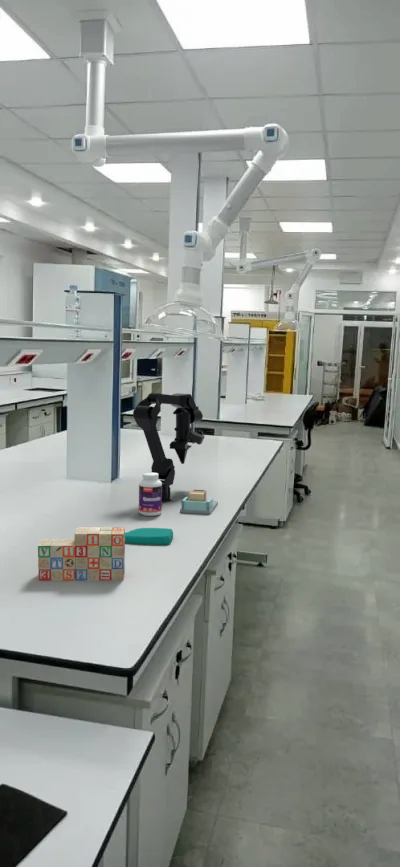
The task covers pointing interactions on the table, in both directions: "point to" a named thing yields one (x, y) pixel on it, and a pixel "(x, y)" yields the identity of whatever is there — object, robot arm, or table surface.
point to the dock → (198, 506)
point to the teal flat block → (149, 536)
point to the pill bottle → (150, 495)
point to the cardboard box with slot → (197, 495)
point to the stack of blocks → (83, 556)
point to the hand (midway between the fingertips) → (182, 463)
